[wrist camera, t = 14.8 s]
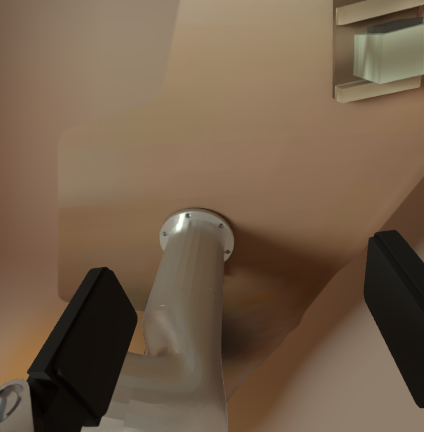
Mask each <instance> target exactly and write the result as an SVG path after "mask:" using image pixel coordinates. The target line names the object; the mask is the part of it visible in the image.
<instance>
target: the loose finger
mask: <svg viewBox="0 0 424 432" xmlns="http://www.w3.org/2000/svg"><path fill="white" fill-rule="evenodd" d="M422 20H423V17H417V18H407V19H399V20H395V21H391V22H387V23H383V24H379V25H375V26H372V27H368V28H367V32H363V33H360V34H356V35H355V37H354V69H353V75H354V76H357V77H360V78H363V79H366V80H369V81H372V82H375V83H378V84H383V83H387V82H392V81H396V80H400V79H405V78H409V77H414V76H418V75H423V74H424V23H422Z"/></svg>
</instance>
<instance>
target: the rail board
mask: <svg viewBox="0 0 424 432" xmlns="http://www.w3.org/2000/svg"><path fill="white" fill-rule="evenodd" d="M420 5H424V0H333V98H334V99H336V100H337V101H339V102H341V103H345V102H350V101H355V100H360V99H365V98H370V97H374V96H379V95H384V94H389V93H394V92H399V91H403V90H408V89H413V88H418V87H420V83H421V77H422V75H418V76H414V77H409V78H405V79H400V80H396V81H392V82H387V83H383V84H378V83H375V82H372V81H369V80H366V79H363V78H360V77H357V76H354V75H353V69H354V37H355V35H356V34H360V33H363V32H367V28H368V27H372V26H375V25H379V24H383V23H387V22H391V21H395V20H399V19H407V18H417V13H418V6H420Z"/></svg>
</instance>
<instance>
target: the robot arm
mask: <svg viewBox="0 0 424 432" xmlns="http://www.w3.org/2000/svg"><path fill="white" fill-rule="evenodd" d="M160 245H161V247H162V250H163V251H164V253H163V257H162V260H161V263H160V266H159V269H158V272H157V275H156V278H155V281H154V284H153V287H152V290H151V294H150V297H149V300H148V303H147V306H146V309H145V312H144V316H143V325H142V326H143V336H144V340H145V344H146V346H147V349H148V352H149V354H150V355H145V354H144V355H141V354H136V353H131V352H127V351H128V348H129V345H130V342H131V339H132V336H133V333H134V330H135V327H136V324H137V314H136V312H135V310H134V308H133V306H132V304H131V303H130V301H129V299H128V297H127V295H126V294H125V292H124V290H123V288H122V286H121V285H120V283H119V281H118V279H117V277H116V276H115V274H114V272H113V271H112V270H109V269H108V268H107V267H101V268H93V269H91V270H90V271H89V272H88V273H87V275H86V277H85V278H84V280H83V282H82V283H81V285H80V286H79V288H78V290H77V291H76V293H75V295H74V296H73V298H72V300H71V301H70V303H69V304H68V306H67V308H66V309H65V311H64V313H63V314H62V316H61V317H60V319H59V321H58V322H57V324H56V326H55V327H54V329H53V331H52V332H51V334H50V336H49V337H48V339H47V340H46V342H45V344H44V345H43V347H42V349H41V350H40V352H39V353H38V355H37V357H36V358H35V360H34V362H33V363H32V365H31V367H30V368H29V370H28V371H27V373H28V374H29V375H30V376H29V378H28V379H27V381H26V380H24V379H14V380H11V381H9V382H7V383H5V384H3V385H2V386H0V432H228V418H227V406H226V399H225V391H224V384H223V375H222V363H221V324H222V302H223V278H224V262H225V261H226V260H227V259H228V258H229V257H230V255H231V254H232V251H233V249H234V235H233V231H232V229H231V227H230V225H229V224H228V223H227V222H226V221H225V220H224V219H223V218H222V217H221V216H219V215H218V214H216V213H214V212H211V211H209V210H205V209H198V208H191V209H184V210H181V211H178V212H176V213H174V214H173V215H171V216H170V217H169V218H168V219H167V220H166V221H165V223H164V224H163V227H162V229H161V232H160ZM364 298H365V302H366V304H367V306H368V308H369V310H370V312H371V314H372V316H373V317H374V320H375V322H376V324H377V326H378V328H379V330H380V332H381V334H382V336H383V338H384V340H385V342H386V344H387V346H388V348H389V350H390V352H391V354H392V356H393V358H394V360H395V363H396V364H397V366H398V369H399V371H400V373H401V375H402V377H403V379H404V381H405V383H406V385H407V386H408V389H409V391H410V393H411V395H412V397H413V399H414V401H415V403H416V404H417V405H418V407H419V408H424V263H423V261H422V260H421V259H420V258H419V256H418V255H417V254H416V253H415V252H414V251H413V249H412V248H411V247H410V246H409V244H408V243H407V242H406V241H405V240H404V238H403V237H402V236H401V235H400V234H399V233H398V232H397V231H396V230H390V231H382V232H376V233H375V234H374V237H370V238H369V242H368V252H367V263H366V273H365V283H364Z"/></svg>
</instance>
